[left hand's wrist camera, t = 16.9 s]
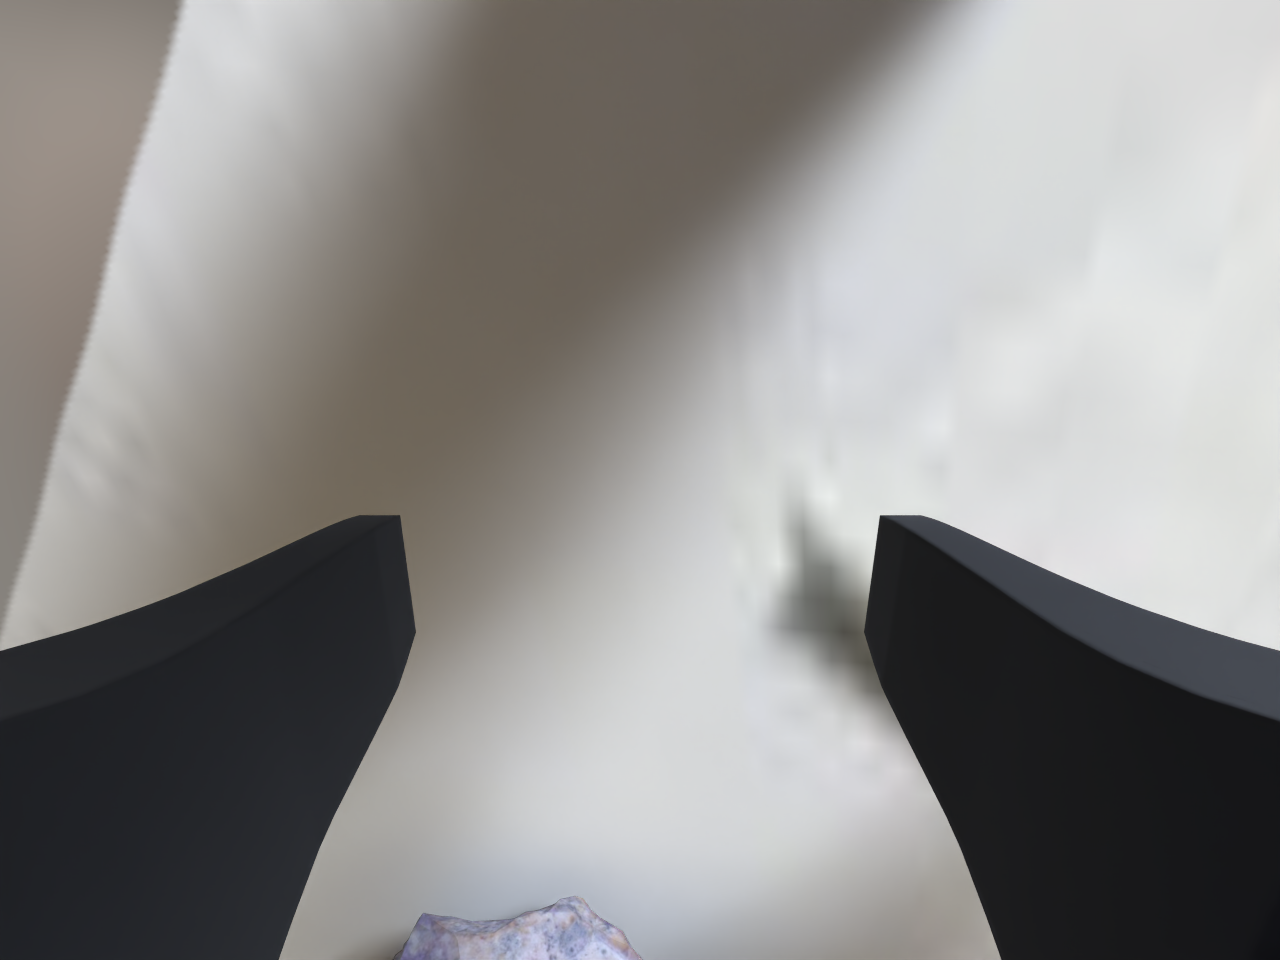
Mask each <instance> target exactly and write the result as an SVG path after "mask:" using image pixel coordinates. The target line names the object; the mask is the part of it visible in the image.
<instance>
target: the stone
mask: <svg viewBox="0 0 1280 960" xmlns="http://www.w3.org/2000/svg"><path fill="white" fill-rule="evenodd" d="M393 960H642V958H641V957H640V956H639V955H638V954H637V953H636V952H635V951H634V950H633V949H632V947H631V945H630V943H629V942H628V940H627V938H626V936H625V934H624V933H623V931H622V930H620V929H618V928H617V927H615V926H613V925H612V924H610V923H608V922H607V921H605V920H603V919H602V918H600V917H599V916H598V915H596V914H595V913H594V912H593V911H592V910H590V908H589V906H588V905H587V903H586V902H585V900H584V899H583V898H580V897H576V896H573V897H569V898H564V899H560V900H559V901H558V902H557V903H556V904H553V905H551V906H548V907H545V908H543V909H540V910H537V911H530V912H525V913H524V914H522V915H520V916H518V917H517V918H514V919H510V920H492V921H476V922H472V921H468V920H464V919H459V918H455V917H446V916H437V915H431V914H425V913H423V914H422V916H421V917H420V918H419V920H418V921H417V923H416V925H415V927H414V929H413V931H412V933H411V935H410V937H409V939H408V940H407V942H406V943H405V944H404V947H403V950H401V951H400V952H399V953H397V954H396V955H395V957H394V959H393Z"/></svg>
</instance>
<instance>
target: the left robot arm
mask: <svg viewBox="0 0 1280 960" xmlns="http://www.w3.org/2000/svg"><path fill="white" fill-rule="evenodd" d="M415 633H416V630H415V622H414V615H413V608H412V600H411V593H410V586H409V578H408V571H407V563H406V556H405V549H404V541H403V534H402V527H401V519H400V515H359V516H356V517H352V518H349V519H346V520H343V521H340V522H338V523H335V524H333V525H330V526H328V527H326V528H323V529H321V530H319V531H317V532H315V533H312V534H310V535H308V536H306V537H304V538H302V539H299V540H297V541H295V542H293V543H291V544H289V545H287V546H284V547H282V548H280V549H278V550H276V551H274V552H272V553H269V554H267V555H265V556H263V557H261V558H259V559H257V560H254V561H252V562H250V563H248V564H246V565H243V566H241V567H239V568H236V569H234V570H232V571H230V572H227V573H225V574H223V575H220V576H218V577H216V578H213V579H211V580H209V581H206V582H204V583H202V584H199V585H197V586H195V587H192V588H190V589H188V590H185V591H183V592H181V593H178V594H176V595H173V596H171V597H168V598H166V599H163V600H160V601H158V602H155V603H152V604H150V605H147V606H144V607H142V608H139V609H136V610H133V611H130V612H127V613H125V614H122V615H119V616H116V617H113V618H110V619H107V620H104V621H101V622H98V623H95V624H92V625H89V626H86V627H83V628H80V629H77V630H73V631H70V632H66V633H63V634H59V635H56V636H52V637H49V638H45V639H42V640H38V641H34V642H31V643H27V644H24V645H20V646H17V647H13V648H10V649H6V650H2V651H0V960H279V957H280V954H281V951H282V948H283V945H284V943H285V940H286V937H287V934H288V931H289V928H290V925H291V922H292V920H293V917H294V914H295V912H296V909H297V906H298V904H299V901H300V898H301V896H302V893H303V890H304V888H305V885H306V882H307V880H308V877H309V874H310V872H311V869H312V866H313V864H314V861H315V859H316V856H317V853H318V851H319V848H320V846H321V844H322V841H323V839H324V837H325V835H326V832H327V830H328V828H329V826H330V824H331V821H332V819H333V817H334V815H335V813H336V811H337V809H338V807H339V805H340V803H341V801H342V799H343V797H344V795H345V793H346V791H347V789H348V787H349V785H350V783H351V781H352V779H353V777H354V775H355V773H356V771H357V769H358V767H359V765H360V763H361V761H362V759H363V757H364V755H365V753H366V751H367V749H368V747H369V745H370V743H371V741H372V739H373V738H374V736H375V734H376V732H377V730H378V727H379V725H380V723H381V721H382V719H383V717H384V715H385V713H386V711H387V709H388V707H389V705H390V703H391V701H392V699H393V697H394V695H395V693H396V690H397V688H398V686H399V683H400V680H401V677H402V674H403V671H404V668H405V665H406V663H407V659H408V656H409V653H410V649H411V646H412V643H413V640H414V636H415ZM864 633H865V636H866V640H867V643H868V646H869V649H870V653H871V656H872V659H873V663H874V665H875V668H876V671H877V674H878V677H879V680H880V683H881V686H882V688H883V690H884V693H885V695H886V697H887V699H888V701H889V703H890V705H891V707H892V709H893V711H894V713H895V715H896V717H897V719H898V721H899V723H900V725H901V727H902V730H903V732H904V734H905V736H906V738H907V739H908V741H909V743H910V745H911V747H912V749H913V751H914V753H915V755H916V757H917V759H918V761H919V763H920V765H921V767H922V769H923V771H924V773H925V775H926V777H927V779H928V781H929V783H930V785H931V787H932V789H933V791H934V793H935V795H936V797H937V799H938V801H939V803H940V805H941V807H942V809H943V811H944V813H945V815H946V817H947V819H948V821H949V824H950V826H951V828H952V830H953V832H954V835H955V837H956V839H957V841H958V844H959V846H960V848H961V851H962V853H963V856H964V859H965V861H966V864H967V866H968V869H969V872H970V874H971V877H972V880H973V882H974V885H975V888H976V890H977V893H978V896H979V898H980V901H981V904H982V906H983V909H984V912H985V914H986V917H987V920H988V922H989V925H990V928H991V931H992V934H993V937H994V940H995V943H996V945H997V948H998V951H999V954H1000V957H1001V960H1280V651H1278V650H1274V649H1271V648H1267V647H1263V646H1259V645H1256V644H1252V643H1248V642H1245V641H1241V640H1237V639H1234V638H1231V637H1227V636H1224V635H1221V634H1217V633H1214V632H1211V631H1207V630H1204V629H1201V628H1198V627H1195V626H1192V625H1189V624H1186V623H1183V622H1180V621H1177V620H1174V619H1171V618H1168V617H1165V616H1162V615H1159V614H1156V613H1153V612H1150V611H1148V610H1145V609H1142V608H1139V607H1136V606H1134V605H1131V604H1128V603H1126V602H1123V601H1120V600H1118V599H1115V598H1112V597H1110V596H1107V595H1105V594H1103V593H1100V592H1098V591H1095V590H1093V589H1090V588H1088V587H1086V586H1083V585H1081V584H1078V583H1076V582H1073V581H1071V580H1069V579H1066V578H1064V577H1062V576H1059V575H1057V574H1055V573H1053V572H1050V571H1048V570H1046V569H1044V568H1041V567H1039V566H1037V565H1035V564H1033V563H1030V562H1028V561H1026V560H1024V559H1022V558H1020V557H1017V556H1015V555H1013V554H1011V553H1009V552H1007V551H1005V550H1002V549H1000V548H998V547H996V546H994V545H992V544H990V543H987V542H985V541H983V540H981V539H979V538H977V537H975V536H972V535H970V534H968V533H966V532H964V531H962V530H959V529H957V528H955V527H952V526H950V525H948V524H945V523H943V522H940V521H938V520H935V519H932V518H928V517H925V516H921V515H880V519H879V527H878V534H877V541H876V549H875V556H874V563H873V571H872V578H871V586H870V593H869V600H868V608H867V615H866V622H865V630H864Z"/></svg>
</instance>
